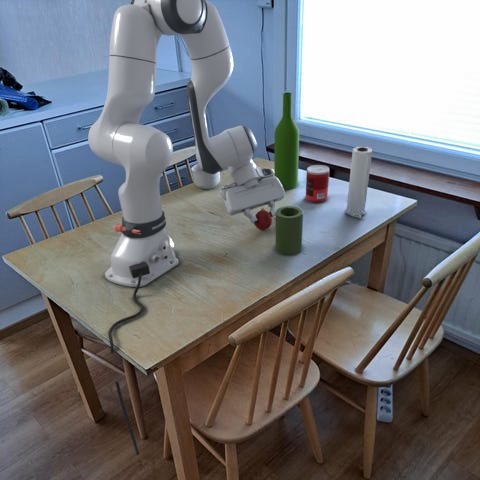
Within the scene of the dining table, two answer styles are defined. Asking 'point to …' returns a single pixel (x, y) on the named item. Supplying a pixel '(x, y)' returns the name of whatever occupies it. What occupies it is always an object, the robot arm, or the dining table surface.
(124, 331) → the dining table surface
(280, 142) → the wine bottle
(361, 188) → the paper towel roll
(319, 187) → the canned food
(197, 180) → the teacup
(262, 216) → the onion
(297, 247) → the green cylindrical vase
